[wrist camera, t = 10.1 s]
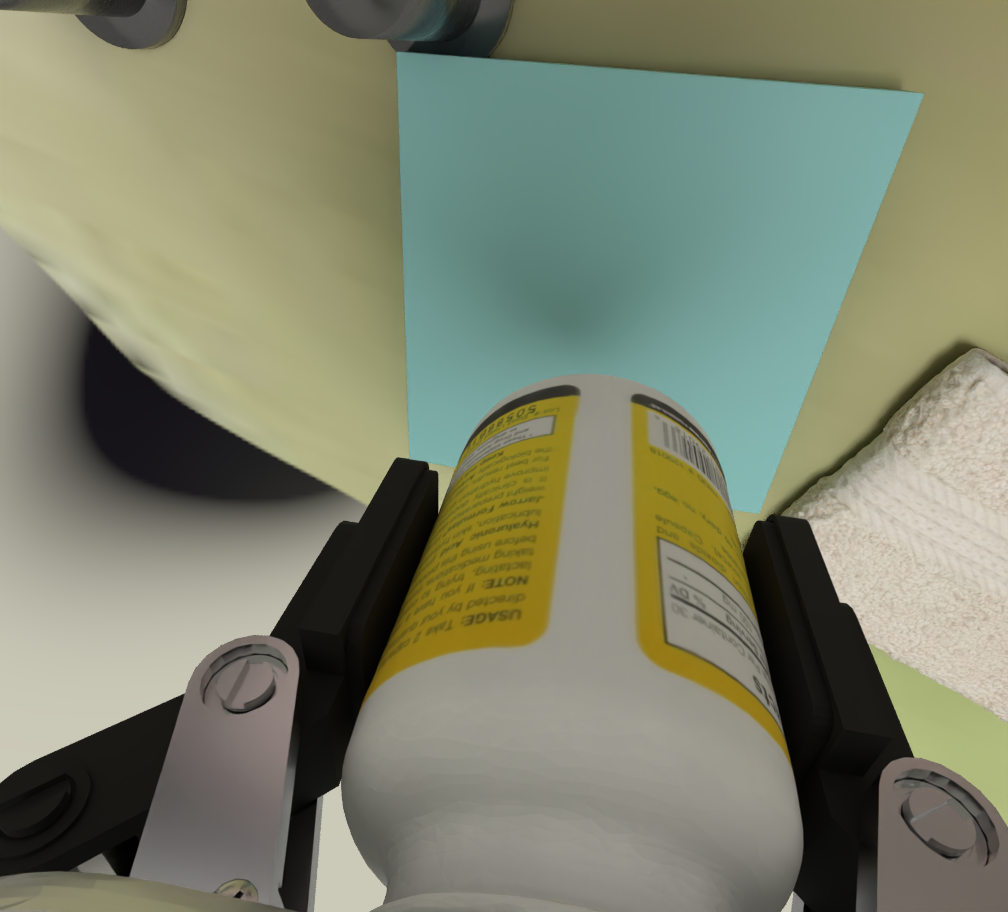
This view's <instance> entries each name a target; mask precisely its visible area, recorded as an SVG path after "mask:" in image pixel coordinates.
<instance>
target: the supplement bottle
mask: <svg viewBox="0 0 1008 912" xmlns="http://www.w3.org/2000/svg"><path fill="white" fill-rule="evenodd" d="M341 790H342V801H343V809H344V813H345V816H346V820H347V823H348V826H349V829H350V832H351V835H352V837H353V840H354V842H355V844H356V846H357V848H358V850H359V851H360V853H361V855H362V857H363V859H364V860H365V862H366V864H367V865H368V867H369V868H370V869H371V870H372V871H373V873H374V874H375V875H376V876H377V878H378V879H379V880H380V881H381V882H382V883H383V884H384V885H385V886H386V887H387V893H386V896H385V899H384V903H383V905H382V906H380V907H378V908H375V909H374V910H372V911H370V912H781V910H782V909H783V908H784V906H785V905H786V903H787V901H788V899H789V897H790V895H791V893H792V891H793V889H794V886H795V884H796V881H797V878H798V874H799V871H800V867H801V863H802V856H803V825H802V819H801V813H800V807H799V801H798V795H797V789H796V783H795V779H794V774H793V770H792V765H791V761H790V756H789V752H788V748H787V743H786V739H785V735H784V731H783V727H782V723H781V719H780V714H779V710H778V705H777V701H776V697H775V693H774V689H773V685H772V681H771V676H770V672H769V667H768V663H767V659H766V655H765V651H764V646H763V640H762V637H761V633H760V628H759V624H758V619H757V615H756V610H755V606H754V602H753V598H752V593H751V589H750V585H749V581H748V577H747V572H746V567H745V562H744V558H743V554H742V550H741V545H740V541H739V537H738V534H737V530H736V525H735V521H734V516H733V511H732V507H731V504H730V499H729V494H728V491H727V485H726V480H725V476H724V473H723V470H722V467H721V465H720V462H719V459H718V456H717V454H716V451H715V449H714V447H713V445H712V443H711V441H710V439H709V437H708V436H707V434H706V433H705V431H704V430H703V429H702V427H701V426H700V425H699V424H698V422H697V421H696V420H695V419H694V418H693V417H692V416H691V415H690V414H689V413H688V412H687V411H686V410H685V409H684V408H683V407H682V406H681V405H679V404H678V403H676V402H675V401H674V400H672V399H671V398H670V397H668V396H666V395H664V394H663V393H661V392H659V391H657V390H655V389H653V388H651V387H648V386H646V385H643V384H641V383H638V382H635V381H632V380H628V379H625V378H620V377H614V376H609V375H600V374H572V375H563V376H558V377H553V378H548V379H545V380H542V381H539V382H536V383H533V384H530V385H528V386H525V387H523V388H521V389H519V390H517V391H515V392H513V393H511V394H510V395H508V396H507V397H505V398H504V399H502V400H501V401H499V402H498V403H497V404H496V405H495V406H494V407H493V408H492V409H491V410H489V411H488V413H487V414H486V415H485V416H484V417H483V418H482V419H481V421H480V422H479V423H478V424H477V426H476V427H475V429H474V430H473V432H472V434H471V435H470V437H469V439H468V441H467V443H466V445H465V447H464V449H463V452H462V454H461V456H460V458H459V461H458V464H457V466H456V469H455V471H454V474H453V476H452V479H451V482H450V484H449V487H448V490H447V492H446V495H445V498H444V500H443V503H442V506H441V509H440V511H439V514H438V517H437V519H436V521H435V524H434V526H433V529H432V532H431V534H430V537H429V539H428V542H427V544H426V547H425V549H424V552H423V555H422V557H421V560H420V563H419V565H418V567H417V570H416V572H415V574H414V576H413V579H412V582H411V585H410V587H409V590H408V592H407V595H406V597H405V600H404V602H403V604H402V607H401V610H400V613H399V616H398V618H397V621H396V623H395V625H394V628H393V630H392V632H391V635H390V638H389V640H388V642H387V645H386V647H385V649H384V652H383V654H382V656H381V659H380V661H379V664H378V667H377V670H376V672H375V675H374V677H373V680H372V682H371V684H370V686H369V689H368V691H367V693H366V695H365V698H364V700H363V703H362V706H361V708H360V711H359V714H358V717H357V720H356V723H355V726H354V730H353V733H352V736H351V739H350V742H349V745H348V748H347V751H346V754H345V759H344V763H343V770H342V780H341Z"/></svg>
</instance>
